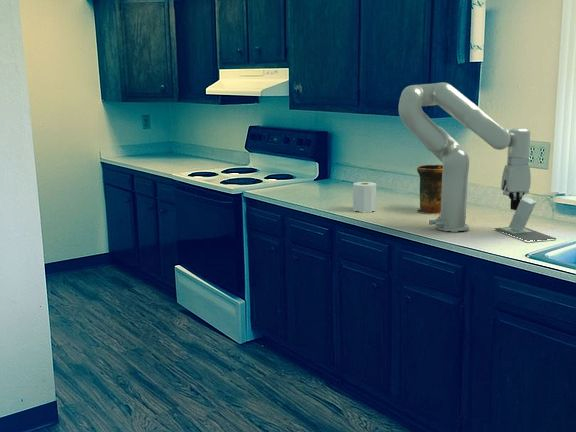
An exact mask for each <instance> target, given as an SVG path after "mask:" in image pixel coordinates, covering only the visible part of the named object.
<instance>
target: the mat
mask: <svg viewBox="0 0 576 432" xmlns="http://www.w3.org/2000/svg"><path fill="white" fill-rule="evenodd" d="M494 229H496V230H498V231H501V232H504V233H507V234H510V235H512V236H515V237H518V238H521V239H523V240H527V241H530V240H533V241H534V240H535V241H537V240H547V239H556V240H557V238H556V237H554V236H552V235H551V236H550V235H547V234H545V233H542V232H539V231H537V230H533V229H532V228H529V227H526V226H525V228H524V229H523V230H521V231H519V232H518V231H516V230H514V229H512V228H510V227H509V226H508V227H507V226H505V227H495V228H494ZM496 230H495V231H496ZM498 231H497V232H498ZM501 232H500V233H501ZM504 233H503V234H504Z"/></svg>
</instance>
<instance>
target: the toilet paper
mask: <svg viewBox="0 0 576 432" xmlns="http://www.w3.org/2000/svg"><path fill="white" fill-rule="evenodd" d="M352 186H353V187H352V189H353V190H352V191H353V192H352V195H353V196H352V211H353V210H355V211H360V212H359V213H361V212H370V213H373V212H372V211H375V212H376V211H377V182H374V181H373V182H372V181H357V182H353V184H352ZM355 211H354V212H355Z"/></svg>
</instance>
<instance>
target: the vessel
mask: <svg viewBox="0 0 576 432" xmlns="http://www.w3.org/2000/svg"><path fill="white" fill-rule="evenodd" d="M416 170H417V174H418V176H419V209H418V210H419V211H417V212H418V213H419V214H424V213H427V214H426V215H434V214H437V215H441V192H442V171H443V164H423V165H419V166H418V167H417V168H416Z"/></svg>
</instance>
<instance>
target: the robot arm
mask: <svg viewBox="0 0 576 432" xmlns="http://www.w3.org/2000/svg"><path fill="white" fill-rule="evenodd" d="M398 101H399V103H398V115H399V117H400V120H401V122H402V124H403V125H404V126H405V127H406V128H407V129H408V131H410V133H412V134H413V136H414V137H415V138H416V139H418V140H419V142H420V143H421V144H422V145H423V146H424V148H425V149H426V150H427V151H430V152H431V153H432V154H433V155H434V156H435V157H436V158H437V159H438V160H439V161H440V162H441V163H442V165H443V171H442V192H441V214H440V215H439V216H437V218H436V219H429V220H428V225H429V226H432V225H435V228H436V230H439V229H440V230H439V231H442V230H443V232H447V231H451V232H450V233H459V232H458V231H464V232H467V231H469V230H470V225H469V224H466V221H467V220H466V219H467V218H466V217H467V201H468V199H467V198H468V182H469V181H468V179H469V171H470V170H469V169H470V156H469V154H468V153H467V151H466V150H465V149H464V147H463V146H462V145H461V144H459V143H458V142H457V141H456V140H455V138H453V137H452V136H451V135H450V134H449V133H448V132H447V131H446V130H445V129H444V128H443V127H442V126H439V125H438V124H436V123H435V121H433V120H432V119H431V118H430V116H429V115H427V114H426V113H425V112H424V110H423V108H422V107H430V106H431V107H432V106H439V107H440V108H441V109H442V110H443V111H445V112H446V113H447V114H448V115H450V116H451V117H453V118H454V119H455V120H456V122H459V124H461V125H462V126H463V127H465V128H467V129H469V130H470V131H471V132H473V133H474V134H475V135H476V136H478V137H479V138H480V139H482V140H483V141H484V142H485V143H486V144H488V145H489V146H490V147H492V149H495V150H499V151H500V150H501V151H502V150H504V149H506V148H507V161H506V164H505V165H504V168H503V172H502V176H501V177H502V178H501V183H500V184H501V186H500V189H501V190H502V191H503V192H502V195H503V196H508V197H509V198H508V199H510V205H509V206H510V210H513V211H516V209H517V207H518V205H519V203H520V201H521V199H523V198H524V195H527V194H529V193H530V189H531V180H532V178H531V168H530V165H529V162H531V160H532V158H531V157H530V145H531V144H530V143H531V131H530V129H529V128H524V127H516V128H515V127H514V128H506V127H502V126H501V125H500V124H499V123H498V122H496V121H495V120H493V119H492V118H491V117H490V116H488V115H487V113H485V112H484V111H483V110H482V109H481V108H480V107H479V106H478V105H476V104H475V103H474V102H473V101H471V100H470V99H469V98H468V97H467V96H466V95H464V94H463V93H461V91H460V90H458V89H457V88H456V87H454V86H453V85H452V84H450V83H448V82H443V81H442V82H436V83H435V82H434V83H422V84H412V85H408V86H406V87H404V88H403V90H402V91H401V94H400V97H399V100H398Z"/></svg>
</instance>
